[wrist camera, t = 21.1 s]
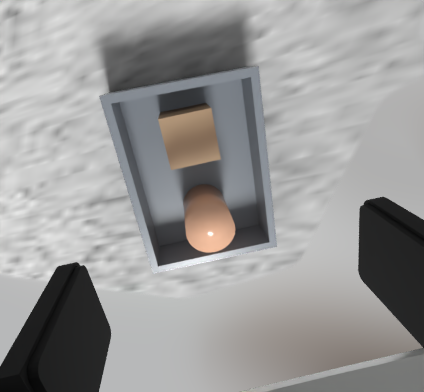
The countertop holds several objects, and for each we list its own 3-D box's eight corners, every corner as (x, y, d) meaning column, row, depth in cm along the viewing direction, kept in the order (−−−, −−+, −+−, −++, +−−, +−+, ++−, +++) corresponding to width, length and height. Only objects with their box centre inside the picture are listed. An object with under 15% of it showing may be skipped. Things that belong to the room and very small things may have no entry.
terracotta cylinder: (179, 188, 36) (181, 214, 30) (220, 180, 37) (231, 203, 30) (187, 225, 38) (191, 256, 32) (227, 217, 39) (238, 246, 32)
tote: (264, 226, 41) (277, 246, 36) (154, 250, 40) (152, 273, 35) (246, 66, 33) (258, 66, 28) (109, 92, 32) (99, 96, 28)
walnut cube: (159, 112, 33) (158, 119, 28) (205, 102, 33) (211, 108, 29) (171, 157, 35) (171, 170, 30) (214, 147, 35) (220, 159, 31)
